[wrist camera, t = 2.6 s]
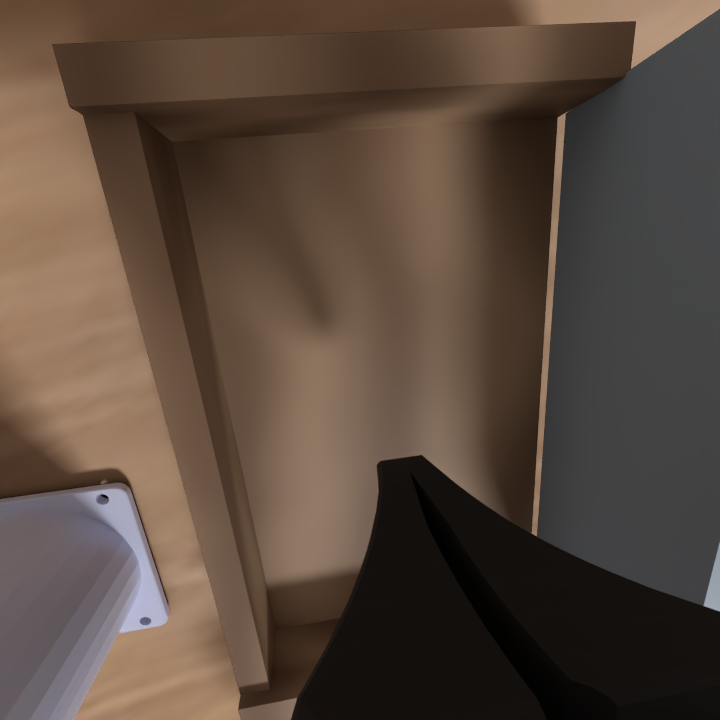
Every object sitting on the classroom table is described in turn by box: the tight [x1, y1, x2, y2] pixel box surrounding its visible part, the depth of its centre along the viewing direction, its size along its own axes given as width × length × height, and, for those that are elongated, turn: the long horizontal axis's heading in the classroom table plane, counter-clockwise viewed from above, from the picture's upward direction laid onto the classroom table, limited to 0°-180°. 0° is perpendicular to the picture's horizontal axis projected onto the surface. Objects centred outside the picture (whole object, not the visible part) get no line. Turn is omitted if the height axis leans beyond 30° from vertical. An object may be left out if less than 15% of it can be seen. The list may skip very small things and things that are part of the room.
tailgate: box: [537, 9, 720, 611], centre depth 12 cm, size 1×21×8 cm, turn 5°
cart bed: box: [52, 21, 636, 720], centre depth 14 cm, size 14×23×4 cm, turn 5°
